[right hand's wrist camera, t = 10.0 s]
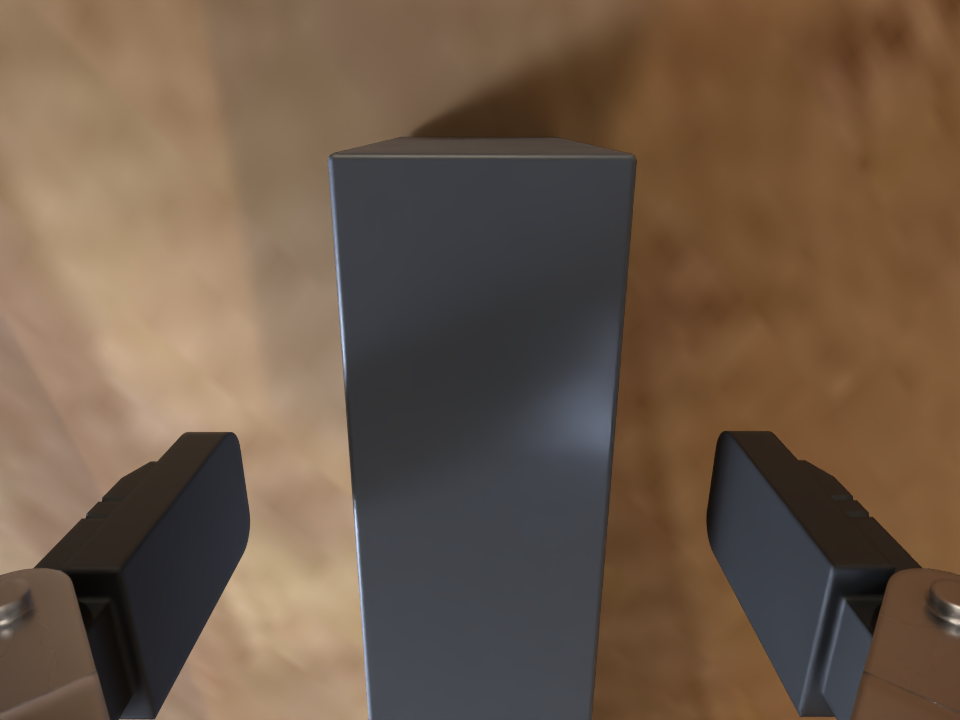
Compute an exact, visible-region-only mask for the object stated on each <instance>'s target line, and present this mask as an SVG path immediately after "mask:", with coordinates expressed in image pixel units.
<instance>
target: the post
mask: <svg viewBox="0 0 960 720" xmlns="http://www.w3.org/2000/svg"><path fill="white" fill-rule="evenodd" d="M636 164H637V161H636V157H635V156H634V155H632V154H630V153H626V152H621V151H616V150H612V149H607V148H603V147H598V146H594V145H589V144H585V143H580V142H576V141H571V140H567V139H562V138H558V137H399V138H395V139H391V140H386V141H382V142H378V143H374V144H370V145H365V146H361V147H357V148H353V149H349V150H344V151H340V152H336V153H333V154H331V155H330V156H329V159H328V169H329V182H330V196H331V210H332V223H333V237H334V251H335V264H336V278H337V292H338V305H339V319H340V333H341V346H342V360H343V374H344V387H345V401H346V415H347V428H348V442H349V456H350V469H351V483H352V497H353V510H354V524H355V538H356V551H357V565H358V579H359V592H360V606H361V620H362V633H363V647H364V661H365V674H366V688H367V702H368V715H369V720H592V711H593V699H594V686H595V674H596V661H597V649H598V636H599V624H600V612H601V599H602V587H603V574H604V562H605V549H606V537H607V524H608V512H609V500H610V487H611V475H612V462H613V450H614V437H615V425H616V413H617V400H618V388H619V375H620V363H621V350H622V338H623V326H624V313H625V301H626V288H627V276H628V263H629V251H630V239H631V226H632V214H633V201H634V189H635V176H636Z"/></svg>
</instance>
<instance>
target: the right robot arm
mask: <svg viewBox="0 0 960 720" xmlns="http://www.w3.org/2000/svg"><path fill="white" fill-rule="evenodd" d="M249 530H250V513H249V505H248V498H247V491H246V484H245V478H244V471H243V464H242V457H241V450H240V444H239V441H238V438H237V436H236V435H235V434H234V433H232V432H186V433H184V434H183V435H182V436H181V437H180V438H179V439H178V440H177V441H176V442H175V443H174V444H173V445H172V446H171V447H170V449H169V450H168V451H167V452H166V453H165V454H164V455H163V456H162V457H161V458H160V459H159V460H158V462H149V463H147V464H146V465H144V466H142V467H140V468H139V469H137V470H135V471H133V472H132V473H130V474H128V475H126V476H125V477H123V478H121V479H120V480H119V481H118V482H117V483H116V484H115V485H114V486H113V487H112V488H111V490H110V491H109V492H108V493H107V494H106V495H105V496H104V497H103V498H102V502H98V503H97V504H96V505H95V506H94V507H93V508H92V509H91V510H90V511H89V512H88V513H87V514H86V519H81V520H80V521H79V522H78V523H77V524H76V525H75V526H74V527H73V528H72V529H71V530H70V531H69V532H68V533H67V535H66V536H65V537H64V538H63V539H62V540H61V541H60V542H59V543H58V544H57V545H56V546H55V547H54V548H53V549H52V550H51V551H50V552H49V553H48V554H47V555H46V556H45V557H44V558H43V559H42V560H41V561H40V562H39V563H38V564H37V565H36V566H35V567H34V568H33V569H25V570H19V571H14V572H10V573H7V574H3V575H0V720H119V719H155V718H156V716H157V714H158V712H159V710H160V708H161V706H162V705H163V703H164V701H165V699H166V697H167V695H168V693H169V692H170V690H171V688H172V686H173V684H174V682H175V680H176V678H177V677H178V675H179V673H180V671H181V669H182V667H183V665H184V664H185V662H186V660H187V658H188V656H189V654H190V652H191V650H192V649H193V647H194V645H195V643H196V641H197V639H198V637H199V635H200V634H201V632H202V630H203V628H204V626H205V624H206V622H207V621H208V619H209V617H210V615H211V613H212V611H213V609H214V607H215V606H216V604H217V602H218V600H219V598H220V596H221V594H222V593H223V591H224V589H225V587H226V585H227V583H228V581H229V579H230V578H231V576H232V574H233V572H234V570H235V568H236V566H237V565H238V563H239V561H240V559H241V557H242V555H243V553H244V551H245V549H246V546H247V542H248V537H249ZM707 533H708V538H709V543H710V546H711V549H712V551H713V553H714V555H715V557H716V559H717V561H718V563H719V564H720V566H721V568H722V570H723V572H724V574H725V576H726V578H727V580H728V581H729V583H730V585H731V587H732V589H733V591H734V593H735V595H736V597H737V598H738V600H739V602H740V604H741V606H742V608H743V610H744V612H745V614H746V615H747V617H748V619H749V621H750V623H751V625H752V627H753V629H754V631H755V632H756V634H757V636H758V638H759V640H760V642H761V644H762V646H763V648H764V650H765V651H766V653H767V655H768V657H769V659H770V661H771V663H772V665H773V667H774V668H775V670H776V672H777V674H778V676H779V678H780V680H781V682H782V684H783V685H784V687H785V689H786V691H787V693H788V695H789V697H790V699H791V701H792V702H793V704H794V706H795V708H796V710H797V712H798V714H799V716H800V717H836V719H837V720H960V575H957V574H953V573H950V572H946V571H941V570H935V569H927V568H922V567H921V566H920V565H919V564H918V563H917V562H916V561H915V560H914V559H913V558H912V557H911V556H910V555H909V554H908V553H907V552H906V551H905V550H904V549H903V548H902V547H901V546H900V545H899V544H898V542H897V541H896V540H895V539H894V538H893V537H892V536H891V535H890V534H889V533H888V532H887V531H886V530H885V529H884V528H883V527H882V526H881V525H880V524H879V523H878V522H877V521H876V520H875V519H874V518H873V517H869V513H868V512H867V510H866V509H865V508H864V507H863V506H862V505H861V504H860V503H859V502H858V501H857V500H853V496H852V495H851V494H850V493H849V492H848V491H847V490H846V489H845V488H844V487H843V486H842V485H841V484H840V483H839V482H838V481H837V480H836V478H835V477H833V476H831V475H830V474H828V473H826V472H824V471H823V470H821V469H819V468H818V467H816V466H814V465H812V464H811V463H809V462H807V461H805V460H797V459H796V458H795V456H794V455H793V454H792V453H791V452H790V451H789V450H788V449H787V448H786V447H785V445H784V444H783V443H782V442H781V441H780V440H779V439H778V438H777V437H776V436H775V435H774V434H773V433H772V432H770V431H724V432H722V433H721V434H720V436H719V438H718V441H717V445H716V451H715V458H714V465H713V472H712V479H711V487H710V494H709V501H708V508H707Z"/></svg>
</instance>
